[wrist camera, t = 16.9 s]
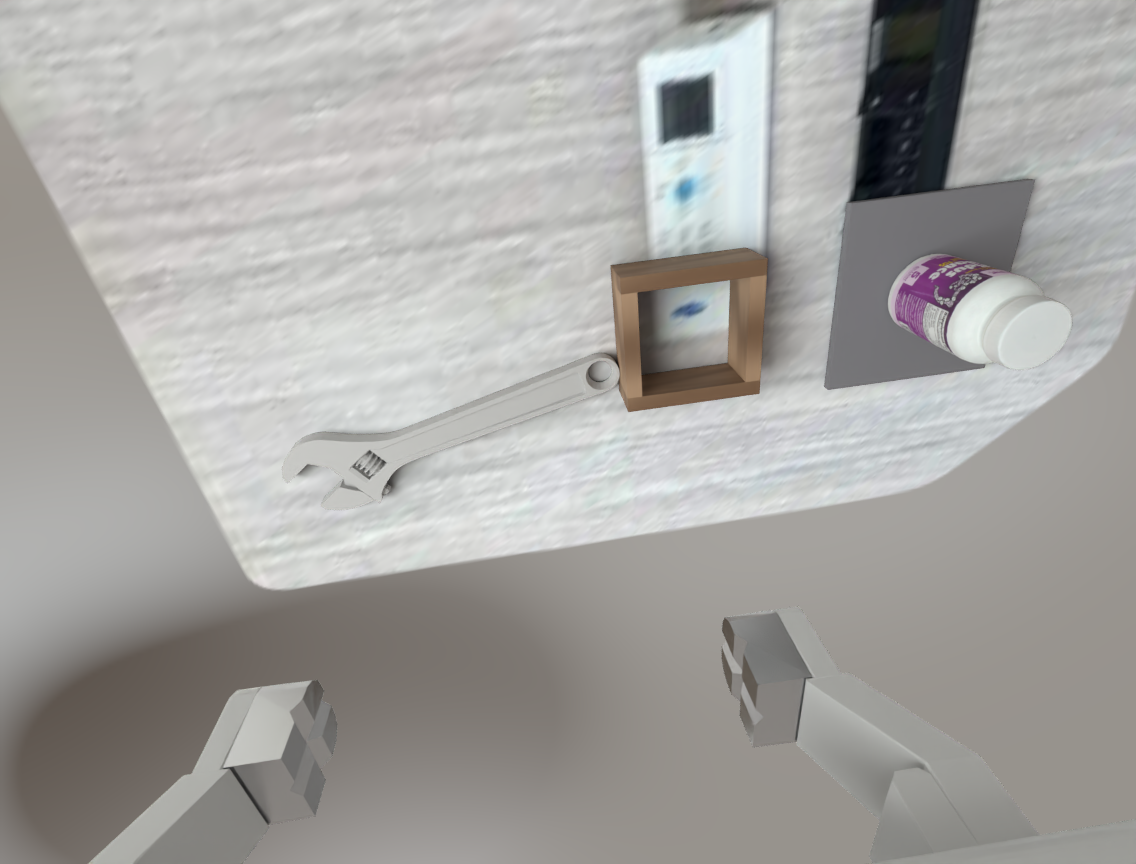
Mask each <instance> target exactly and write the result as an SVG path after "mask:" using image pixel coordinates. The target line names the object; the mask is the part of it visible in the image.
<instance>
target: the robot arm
mask: <svg viewBox="0 0 1136 864" xmlns="http://www.w3.org/2000/svg"><path fill="white" fill-rule="evenodd" d="M722 624H723V625H722V632H723V634H724V637H725V639H726V642H725V643H724V644H723V645H722V664H723V670H724V674H725V678H726V681H727V684H728V687H729V689H730V692H731V695H733V696H734V697H735V698H737V699H738V700H739V701H740V718H741V720H742V722H743V725H744V727H745V730H746V732H747V735H748V737H749V740H750V742H751V745H752V747H759V746H768V745H775V744H783V743H791V742H797V745H798V746H799V747H800V748H801V749H802V750H803V751H804V752H806V753H807V754H808V755H809V756H810V757H811V758H812V759H813V760H814V761H815V762H816V763H817V764H818V765H820V766H821V767H822V768H823V769H824V770H825V771H826V772H827V773H828V774H829V775H830V776H832V777H833V778H834V779H835V780H836V781H837V782H838V783H839V784H840V785H841V786H843V787H844V788H845V789H846V790H847V791H848V792H849V793H850V794H851V795H852V796H853V797H854V798H856V799H857V800H858V801H859V802H860V803H861V804H862V805H863V806H864V807H865V808H866V809H868V810H869V811H870V812H871V813H872V814H873V815H874V816H875V817H876V818H877V819H879V820H880V822H879V825H878V828H877V831H876V835H875V838H874V842H873V845H872V848H871V851H870V855H869V857H870V859H871V861H872V863H869V864H1136V819H1135V820H1128V821H1122V822H1116V823H1110V824H1104V825H1098V826H1092V827H1086V828H1080V829H1073V830H1067V831H1061V832H1055V833H1049V834H1043V835H1039V833H1038V832H1037V831H1036V829H1035V828H1034V827H1033V825H1032V824H1031V823H1030V821H1029V820H1028V819H1027V817H1026V816H1025V815H1024V813H1023V812H1022V811H1021V809H1020V808H1019V807H1018V806H1017V804H1016V803H1015V801H1014V800H1013V799H1012V797H1011V796H1010V795H1009V793H1008V792H1007V791H1006V790H1005V788H1004V787H1003V786H1002V784H1001V783H1000V782H999V780H998V779H997V778H996V776H995V775H994V774H993V772H992V771H991V770H990V768H989V767H988V766H987V764H986V763H985V762H984V760H983V759H982V758H981V756H980V755H978V754H976V753H975V752H973V751H972V750H970V749H969V748H967V747H965V746H964V745H962V744H961V743H959V742H958V741H956V740H954V739H953V738H951V737H950V736H948V735H947V734H945V733H943V732H942V731H940V730H939V729H937V728H935V727H934V726H933V725H931V724H929V723H928V722H926V721H925V720H923V719H921V718H920V717H918V716H917V715H915V714H913V713H912V712H910V711H909V710H907V709H906V708H904V707H903V706H901V705H899V704H898V703H896V702H895V701H893V700H892V699H890V698H888V697H887V696H885V695H884V694H882V693H881V692H879V691H877V690H876V689H874V688H873V687H871V686H870V685H868V684H867V683H865V682H863V681H862V680H860V679H859V678H857V677H856V676H854V675H852V674H851V673H841V671H840V670H839V668H838V666H837V665H836V664H835V662H834V660H833V658H832V657H831V655H830V654H829V652H828V650H827V649H826V647H825V646H824V644H823V642H822V641H821V639H820V638H819V636H818V634H817V633H816V632H815V630H814V628H813V626H812V625H811V623H810V621H809V620H808V618H807V617H806V615H805V614H804V612H803V610H802V609H800V608H799V607H798V606H797V607H790V608H784V609H777V610H773V611H771V610H768V611H762V612H756V613H750V614H743V615H738V616H732V617H725V618H724V620H723V623H722ZM323 693H324V690H323V688H322V686H321V684H320V683H319V681H318V680H312V681H305V682H296V683H288V684H281V685H272V686H264V687H258V688H250V689H243V690H237V691H236V692H235V693H234V694H233V695H232V696H231V697H230V698H229V700H228V702H227V704H226V706H225V708H224V710H223V712H222V714H221V716H220V718H219V720H218V722H217V724H216V726H215V728H214V730H213V732H212V734H211V736H210V738H209V740H208V742H207V744H206V746H205V748H204V750H203V752H202V754H201V756H200V758H199V760H198V762H197V764H196V766H195V768H194V770H193V772H192V774H189V775H184V776H182V778H180V779H179V780H178V781H177V782H176V783H175V784H174V785H173V786H172V787H171V788H169V789H168V790H167V791H166V792H165V793H164V794H163V795H162V796H161V797H160V798H159V799H158V800H156V801H155V802H154V803H153V804H152V805H151V806H150V807H149V808H148V809H147V810H146V811H145V812H144V813H142V815H140V816H139V817H138V818H137V819H136V820H135V821H134V822H133V823H132V824H131V825H130V826H128V827H127V828H126V829H125V830H124V831H123V832H122V833H121V834H120V835H119V836H118V837H117V838H115V839H114V840H113V841H112V842H111V843H110V844H109V845H108V846H107V847H106V848H105V849H103V850H102V851H101V852H100V853H99V854H98V855H97V856H96V857H95V858H94V859H93V860H92V861H91V862H89V863H88V864H243V862H244V861H245V860H246V858H247V857H248V856H249V854H250V853H251V851H252V850H253V849H254V848H255V847H256V845H257V844H258V843H259V841H260V840H261V838H262V837H263V836H264V834H265V833H266V832H267V831H268V829H269V826H268V825H272V824H278V823H283V822H288V821H293V820H299V819H304V818H310V817H315V815H316V812H317V809H318V805H319V802H320V798H321V795H322V791H323V788H324V784H325V780H326V779H325V777H324V775H323V773H322V771H321V769H322V767H323V766H324V765H325V764H326V763H327V762H328V761H329V760H330V758H331V757H332V756H333V752H334V748H335V744H336V737H337V721H336V716H335V713H334V710H333V708H332V706H331V705H329V704H327V703H325V702H324V701H322V696H323Z"/></svg>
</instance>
